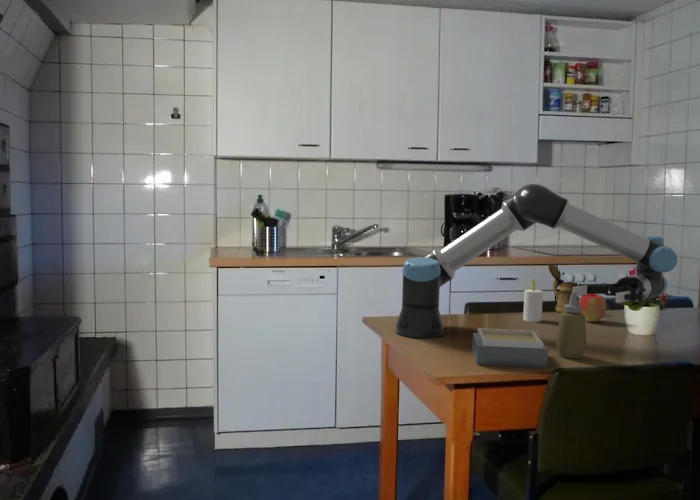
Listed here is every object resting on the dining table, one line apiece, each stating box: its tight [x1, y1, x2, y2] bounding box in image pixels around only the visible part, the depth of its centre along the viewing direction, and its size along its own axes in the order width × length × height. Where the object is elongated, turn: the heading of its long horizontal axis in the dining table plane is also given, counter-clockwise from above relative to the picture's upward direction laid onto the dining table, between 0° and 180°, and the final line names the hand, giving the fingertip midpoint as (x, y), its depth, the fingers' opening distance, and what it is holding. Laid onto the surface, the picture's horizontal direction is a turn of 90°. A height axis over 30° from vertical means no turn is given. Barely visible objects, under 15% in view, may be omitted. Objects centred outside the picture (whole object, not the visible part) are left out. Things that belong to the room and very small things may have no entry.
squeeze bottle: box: [555, 292, 587, 359], centre depth 189 cm, size 8×8×18 cm
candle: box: [522, 278, 544, 323], centre depth 241 cm, size 6×6×15 cm
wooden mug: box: [548, 262, 580, 314], centre depth 261 cm, size 9×14×18 cm, turn 42°
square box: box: [471, 327, 549, 369], centre depth 186 cm, size 18×16×6 cm
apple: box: [579, 294, 607, 323], centre depth 241 cm, size 10×10×10 cm
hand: (594, 294), depth 195 cm, fingers open, 13 cm apart
